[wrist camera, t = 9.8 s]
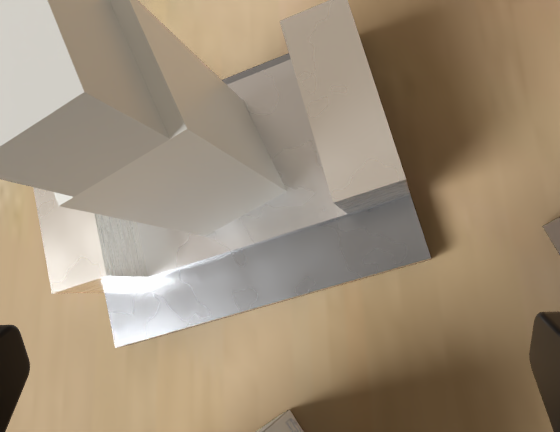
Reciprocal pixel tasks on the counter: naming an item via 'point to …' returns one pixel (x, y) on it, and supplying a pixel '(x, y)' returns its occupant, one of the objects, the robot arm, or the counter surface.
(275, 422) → the light bulb box
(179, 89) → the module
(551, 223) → the block
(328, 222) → the mounting plate
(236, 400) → the counter surface
